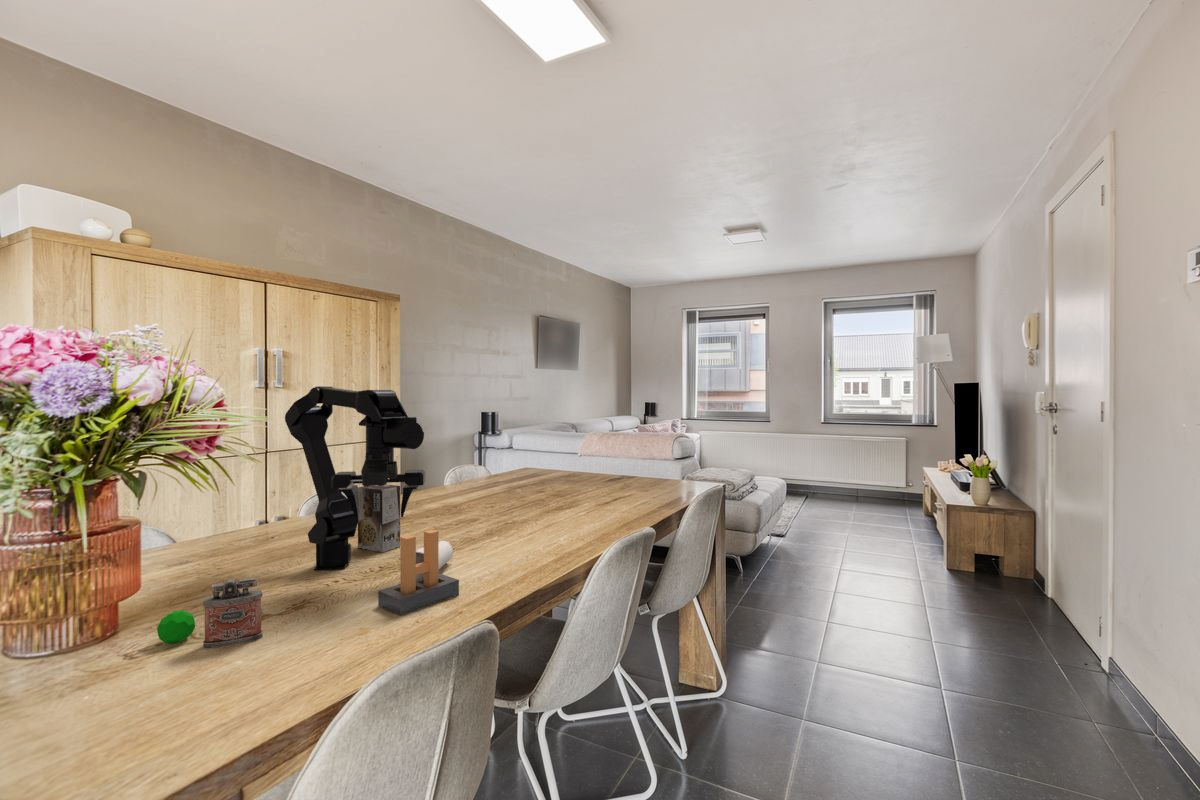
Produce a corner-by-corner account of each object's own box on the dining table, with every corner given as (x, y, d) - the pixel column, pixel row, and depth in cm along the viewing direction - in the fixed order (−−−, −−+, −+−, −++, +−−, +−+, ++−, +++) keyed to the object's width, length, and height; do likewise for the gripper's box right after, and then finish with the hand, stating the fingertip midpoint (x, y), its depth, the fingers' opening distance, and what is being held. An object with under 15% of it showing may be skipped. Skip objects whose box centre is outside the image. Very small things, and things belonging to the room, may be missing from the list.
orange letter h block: (406, 607, 104) (406, 538, 104) (400, 604, 105) (400, 537, 105) (438, 596, 109) (438, 531, 109) (432, 593, 111) (432, 529, 110)
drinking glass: (457, 564, 130) (433, 582, 116) (430, 566, 131) (402, 584, 116) (455, 536, 131) (431, 549, 116) (428, 537, 131) (400, 552, 116)
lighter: (201, 651, 86) (201, 587, 86) (205, 642, 89) (204, 581, 89) (261, 640, 90) (261, 579, 90) (263, 632, 93) (263, 573, 93)
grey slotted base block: (400, 615, 100) (400, 599, 100) (378, 606, 104) (378, 590, 104) (458, 594, 110) (458, 579, 110) (436, 586, 115) (436, 572, 115)
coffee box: (401, 546, 144) (401, 485, 144) (382, 553, 138) (382, 489, 138) (376, 542, 148) (376, 482, 148) (356, 548, 142) (356, 486, 142)
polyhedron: (179, 648, 87) (179, 618, 87) (149, 648, 87) (148, 618, 87) (202, 634, 92) (202, 606, 92) (173, 634, 92) (173, 606, 92)
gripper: (323, 451, 110) (324, 529, 110) (420, 450, 114) (421, 524, 115) (337, 446, 121) (337, 516, 121) (425, 444, 125) (425, 512, 126)
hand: (380, 517), depth 120 cm, fingers open, 9 cm apart
